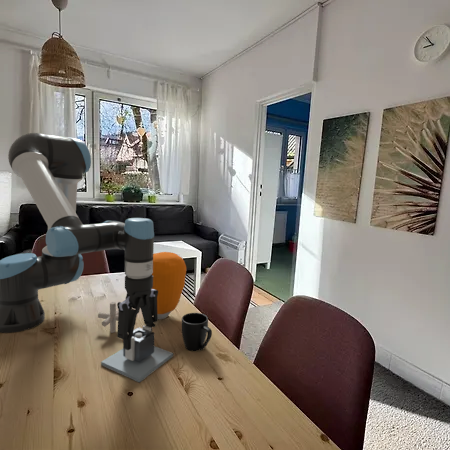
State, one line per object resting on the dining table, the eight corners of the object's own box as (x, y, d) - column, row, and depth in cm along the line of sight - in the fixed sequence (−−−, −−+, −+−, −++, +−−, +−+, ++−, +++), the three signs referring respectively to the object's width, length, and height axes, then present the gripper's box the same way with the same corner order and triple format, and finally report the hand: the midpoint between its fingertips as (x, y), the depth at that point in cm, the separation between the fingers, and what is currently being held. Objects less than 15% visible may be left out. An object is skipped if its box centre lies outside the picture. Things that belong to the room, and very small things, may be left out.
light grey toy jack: (118, 340, 97) (118, 311, 96) (90, 336, 99) (90, 307, 98) (133, 326, 107) (133, 299, 106) (108, 322, 109) (107, 295, 107)
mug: (196, 363, 87) (197, 332, 86) (176, 344, 97) (176, 316, 95) (219, 354, 93) (220, 324, 91) (197, 337, 102) (198, 310, 100)
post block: (101, 365, 84) (100, 338, 83) (137, 342, 97) (137, 318, 96) (139, 382, 78) (139, 353, 77) (173, 356, 90) (173, 330, 89)
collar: (123, 356, 86) (123, 335, 85) (138, 346, 91) (138, 327, 90) (139, 362, 83) (139, 341, 82) (154, 352, 88) (154, 332, 87)
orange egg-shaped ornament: (170, 305, 127) (172, 246, 123) (193, 320, 114) (195, 255, 110) (130, 315, 116) (131, 250, 112) (150, 333, 103) (152, 261, 99)
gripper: (122, 287, 74) (122, 375, 77) (171, 269, 90) (169, 342, 94) (101, 281, 77) (102, 365, 80) (151, 264, 94) (151, 335, 97)
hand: (138, 352), depth 87 cm, fingers closed on collar, 6 cm apart
